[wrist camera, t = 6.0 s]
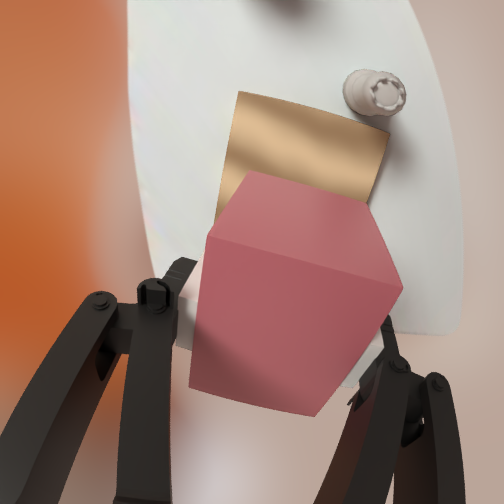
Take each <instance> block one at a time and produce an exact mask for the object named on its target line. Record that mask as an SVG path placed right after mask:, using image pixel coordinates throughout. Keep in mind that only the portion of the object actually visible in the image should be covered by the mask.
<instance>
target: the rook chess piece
mask: <svg viewBox="0 0 504 504" xmlns="http://www.w3.org/2000/svg"><path fill="white" fill-rule="evenodd" d="M343 95H344V99H345V102H346V103H347V104H348V105H349V107H350V108H351V109H352V110H354V111H355V112H357V113H359V114H361V115H367V116H373V115H378V114H379V115H384V116H389V115H395V114H396V113H398V112H399V111H400V110H402V108H403V106H404V104H405V102H406V91H405V88H404V85H403V84H402V82H401V81H400V80H399V78H397V77H396V76H394V75H393V74H391V73H388V72H383V71H382V72H376V71H373V70H368V69H361V70H356V71H354V72H353V73H351V74H350V75H348V76H347V78H346V80H345V82H344V83H343Z"/></svg>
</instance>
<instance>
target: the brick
mask: <svg viewBox="0 0 504 504" xmlns="http://www.w3.org/2000/svg"><path fill="white" fill-rule="evenodd" d="M402 290H403V285H402V283H401V280H400V278H399V275H398V273H397V270H396V268H395V265H394V263H393V261H392V258H391V256H390V253H389V251H388V249H387V246H386V244H385V242H384V240H383V237H382V235H381V233H380V231H379V229H378V226H377V224H376V222H375V220H374V218H373V216H372V214H371V211H370V209H369V207H368V205H367V203H364V202H361V201H358V200H355V199H352V198H349V197H345V196H342V195H339V194H336V193H332V192H329V191H326V190H322V189H319V188H315V187H312V186H308V185H305V184H301V183H298V182H294V181H290V180H287V179H283V178H279V177H275V176H271V175H267V174H264V173H260V172H256V171H251V170H249V171H248V173H247V174H246V176H245V177H244V179H243V180H242V182H241V183H240V185H239V186H238V188H237V190H236V191H235V193H234V194H233V196H232V197H231V199H230V200H229V202H228V203H227V205H226V206H225V208H224V209H223V211H222V213H221V214H220V216H219V217H218V219H217V220H216V222H215V224H214V225H213V227H212V228H211V230H210V231H209V233H208V235H207V239H206V246H205V253H204V260H203V267H202V274H201V281H200V289H199V297H198V305H197V313H196V321H195V330H194V338H193V347H192V357H191V367H190V377H189V388H192V389H196V390H199V391H202V392H206V393H209V394H212V395H216V396H220V397H223V398H227V399H231V400H235V401H238V402H243V403H247V404H251V405H255V406H259V407H264V408H269V409H273V410H278V411H283V412H289V413H294V414H300V415H305V416H312V417H315V416H316V414H317V413H318V412H319V411H320V410H321V408H322V407H323V406H324V405H325V403H326V402H327V401H328V400H329V398H330V397H331V396H332V395H333V393H334V392H335V391H336V389H337V388H338V387H339V385H340V384H341V383H342V381H343V380H344V379H345V377H346V376H347V375H348V373H349V372H350V371H351V369H352V368H353V366H354V365H355V364H356V362H357V361H358V359H359V358H360V356H361V355H362V354H363V352H364V351H365V349H366V348H367V346H368V345H369V343H370V342H371V340H372V339H373V337H374V336H375V334H376V333H377V331H378V329H379V328H380V326H381V325H382V323H383V322H384V320H385V318H386V317H387V315H388V314H389V312H390V310H391V309H392V307H393V305H394V304H395V302H396V300H397V298H398V297H399V295H400V293H401V292H402Z"/></svg>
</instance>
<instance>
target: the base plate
mask: <svg viewBox="0 0 504 504" xmlns="http://www.w3.org/2000/svg"><path fill="white" fill-rule="evenodd" d="M389 136H390V134H389V133H387V132H385V131H382V130H380V129H377V128H374V127H371V126H369V125H366V124H363V123H360V122H357V121H354V120H351V119H348V118H345V117H342V116H339V115H336V114H332V113H329V112H326V111H322V110H319V109H315V108H312V107H308V106H304V105H300V104H297V103H293V102H289V101H285V100H280V99H276V98H272V97H267V96H263V95H258V94H253V93H248V92H243V91H239V92H238V97H237V101H236V106H235V111H234V116H233V121H232V126H231V131H230V136H229V141H228V146H227V152H226V157H225V162H224V168H223V173H222V179H221V185H220V190H219V196H218V202H217V208H216V214H215V220H214V224H215V222H216V220H217V219H218V217H219V216H220V214H221V213H222V211H223V209H224V208H225V206H226V205H227V203H228V202H229V200H230V199H231V197H232V196H233V194H234V193H235V191H236V190H237V188H238V186H239V185H240V183H241V182H242V180H243V179H244V177H245V176H246V174H247V173H248V171H249V170H251V171H256V172H260V173H264V174H267V175H271V176H275V177H279V178H283V179H287V180H290V181H294V182H298V183H301V184H305V185H308V186H312V187H315V188H319V189H322V190H326V191H329V192H332V193H336V194H339V195H342V196H345V197H349V198H352V199H355V200H358V201H361V202H364V203H367V200H368V197H369V195H370V192H371V189H372V186H373V184H374V181H375V178H376V175H377V172H378V169H379V167H380V164H381V161H382V158H383V155H384V152H385V149H386V146H387V143H388V139H389Z"/></svg>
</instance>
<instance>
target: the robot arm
mask: <svg viewBox="0 0 504 504" xmlns="http://www.w3.org/2000/svg"><path fill="white" fill-rule="evenodd" d="M204 253H205V250H204V252H203V254H202V255H201V257H200V259H199V261H195V260H192V259H188V258H184V257H181V258H179V259H178V260H176V261H174V262H173V264H172V265H171V266H170V268H169V270H168V271H167V272H166V274H165V276H164V277H163V278H162V279H160V278H150V279H146V280H144V281H142V282H141V283H140V284H139V286H138V287H137V298H138V303H136V304H127V303H117V298H116V297H115V296H114V295H113V294H111V293H109V292H105V291H98V292H94V293H92V294H90V295H89V296H87V297H86V299H85V300H84V301H83V302H82V304H81V305H80V307H79V308H78V309H77V311H76V312H75V314H74V315H73V317H72V318H71V319H70V321H69V322H68V324H67V325H66V327H65V328H64V329H63V331H62V332H61V334H60V335H59V337H58V338H57V340H56V341H55V343H54V344H53V346H52V347H51V349H50V350H49V352H48V354H47V355H46V357H45V358H44V360H43V361H42V363H41V365H40V366H39V368H38V369H37V371H36V373H35V374H34V376H33V378H32V380H31V381H30V383H29V384H28V386H27V388H26V389H25V391H24V393H23V395H22V396H21V398H20V400H19V402H18V404H17V406H16V407H15V409H14V411H13V413H12V415H11V416H10V418H9V420H8V422H7V424H6V426H5V428H4V430H3V432H2V434H1V436H0V504H58V502H59V500H60V497H61V494H62V491H63V489H64V485H65V483H66V480H67V478H68V475H69V472H70V470H71V467H72V465H73V462H74V460H75V457H76V454H77V452H78V449H79V447H80V445H81V442H82V440H83V437H84V435H85V433H86V430H87V428H88V426H89V423H90V421H91V419H92V417H93V414H94V412H95V410H96V408H97V405H98V403H99V401H100V399H101V397H102V394H103V392H104V390H105V388H106V386H107V383H108V381H109V379H110V377H111V375H112V373H113V371H114V369H115V367H116V365H117V363H118V361H119V358H120V356H121V354H129V358H128V365H127V372H126V379H125V386H124V394H123V403H122V412H121V422H120V433H119V447H118V462H117V488H116V496H115V498H114V500H113V504H172V485H171V456H170V392H171V361H172V345H173V343H174V341H175V339H176V346H178V347H181V348H185V349H188V350H191V351H192V347H193V338H194V330H195V321H196V313H197V305H198V297H199V289H200V281H201V274H202V267H203V260H204ZM392 326H393V325H392V321H391V317H390V316H389V315H387V317H386V318H385V320H384V322H383V323H382V325H381V326H380V328H379V329H378V331H377V333H376V334H375V336H374V337H373V339H372V340H371V342H370V343H369V345H368V346H367V348H366V349H365V351H364V352H363V354H362V355H361V356H360V358H359V359H358V361H357V362H356V364H355V365H354V366H353V368H352V369H351V371H350V372H349V373H348V375H347V376H346V377H345V379H344V380H343V381H342V383H341V384H340V385H339V386H342V387H349V388H353V387H354V386H355V385H356V384H357V382H358V381H359V385H360V389H359V390H358V391H357V392H356V394H355V395H354V396H353V397H352V398H351V399H350V401H349V402H348V404H347V405H350V404H351V402H352V406H351V409H350V412H349V415H348V418H347V421H346V424H345V427H344V430H343V432H342V435H341V438H340V441H339V443H338V446H337V449H336V452H335V454H334V457H333V459H332V462H331V464H330V466H329V469H328V472H327V474H326V476H325V479H324V481H323V483H322V486H321V488H320V490H319V492H318V495H317V497H316V499H315V501H314V503H313V504H385V502H386V498H387V495H388V492H389V488H390V485H391V481H392V477H393V473H394V495H393V504H466V502H465V483H464V471H463V461H462V452H461V444H460V437H459V431H458V425H457V420H456V414H455V409H454V403H453V398H452V394H451V389H450V385H449V383H448V381H447V379H446V378H445V377H444V376H443V375H441V374H439V373H437V372H431V373H430V374H428V375H427V376H426V377H425V378H424V377H422V376H420V375H418V374H415V373H413V372H411V368H410V365H409V363H408V362H407V361H406V360H405V359H404V358H403V357H402V356H400V354H399V350H398V346H397V341H396V337H395V334H394V329H393V327H392ZM423 417H424V424H423V421H422V418H423Z"/></svg>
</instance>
